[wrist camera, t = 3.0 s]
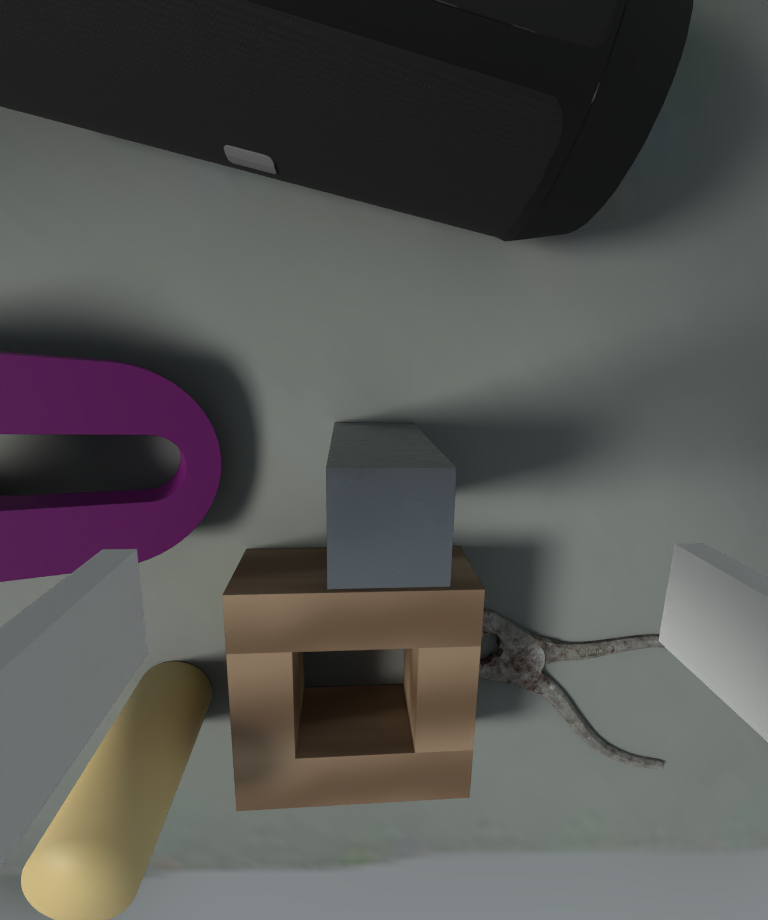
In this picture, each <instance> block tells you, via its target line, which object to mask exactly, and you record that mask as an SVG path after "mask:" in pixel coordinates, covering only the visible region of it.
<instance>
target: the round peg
mask: <svg viewBox="0 0 768 920" xmlns="http://www.w3.org/2000/svg"><path fill="white" fill-rule="evenodd" d="M211 699H212V687H211V684H210V681H209V679H208V678H207V676H206V675H205V674H204V673H203V672H202V671H201V670H199V669H198V668H196V667H195V666H193V665H190V664H188V663H184V662H177V661H171V662H165V663H161V664H158V665H156V666H154V667H152V668H151V669H149V670H148V671H147V672H146V673H145V674H144V676H143V677H142V679H141V680H140V682H139V683H138V685H137V687H136V688H135V690H134V691H133V693H132V695H131V696H130V698H129V699H128V701H127V703H126V704H125V706H124V707H123V709H122V711H121V712H120V714H119V715H118V717H117V719H116V720H115V722H114V723H113V725H112V727H111V728H110V730H109V731H108V733H107V735H106V736H105V738H104V739H103V741H102V743H101V744H100V746H99V748H98V749H97V751H96V752H95V754H94V756H93V757H92V759H91V760H90V762H89V764H88V765H87V767H86V768H85V770H84V772H83V773H82V775H81V776H80V778H79V780H78V781H77V783H76V784H75V786H74V788H73V789H72V791H71V792H70V794H69V796H68V797H67V799H66V800H65V802H64V804H63V805H62V807H61V808H60V810H59V812H58V813H57V815H56V816H55V818H54V820H53V821H52V823H51V824H50V826H49V828H48V829H47V831H46V832H45V834H44V836H43V837H42V839H41V840H40V842H39V844H38V845H37V847H36V848H35V850H34V852H33V853H32V855H31V856H30V858H29V860H28V861H27V863H26V864H25V866H24V869H23V871H22V875H21V885H22V889H23V893H24V895H25V897H26V899H27V900H28V901H29V903H30V904H31V905H32V906H33V907H34V908H35V909H36V910H38V911H39V912H41V913H42V914H44V915H46V916H48V917H50V918H52V919H54V920H108V919H111V918H113V917H115V916H117V915H118V914H120V913H121V912H123V911H124V910H125V909H126V908H127V907H128V906H129V905H130V904H131V903H132V901H133V900H134V898H135V896H136V894H137V892H138V889H139V886H140V884H141V881H142V879H143V876H144V873H145V871H146V868H147V866H148V863H149V860H150V858H151V855H152V853H153V850H154V847H155V845H156V842H157V840H158V837H159V835H160V832H161V829H162V827H163V824H164V822H165V819H166V816H167V814H168V811H169V809H170V806H171V803H172V801H173V798H174V796H175V793H176V791H177V788H178V785H179V783H180V780H181V778H182V775H183V772H184V770H185V767H186V765H187V762H188V759H189V757H190V754H191V752H192V749H193V746H194V744H195V741H196V739H197V736H198V734H199V731H200V728H201V726H202V723H203V721H204V718H205V715H206V713H207V710H208V708H209V705H210V702H211Z"/></svg>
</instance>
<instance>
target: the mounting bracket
mask: <svg viewBox="0 0 768 920" xmlns="http://www.w3.org/2000/svg"><path fill="white" fill-rule="evenodd" d="M0 434H85V435H156V436H161V437H164V438H166V439H168V440H170V441H172V442H173V443H174V444H176V445H177V446H178V447H179V450H180V455H181V461H180V466H179V468H178V471H177V472H176V474H175V475H174V476H173V478H172V479H171V480H169V481H168V482H167V483H165V484H163V485H161V486H159V487H156V488H152V489H142V490H121V491H100V492H80V493H59V494H38V495H18V496H5V495H0V582H3V581H12V580H20V579H28V578H36V577H44V576H52V575H61V574H69V573H72V572H74V571H75V570H76V569H78V568H79V567H80V566H82V565H83V564H84V563H85V562H87V561H88V560H89V559H91V558H92V557H93V556H95V555H96V554H97V553H98V552H100V551H101V550H102V549H137V556H138V563H139V562H142V561H145V560H148V559H150V558H153V557H155V556H157V555H159V554H161V553H163V552H165V551H167V550H168V549H170V548H172V547H173V546H175V545H176V544H178V543H179V542H180V541H182V540H183V539H184V538H185V537H186V536H188V535H189V534H190V533H191V532H192V531H193V530H194V529H195V528H196V527H197V525H198V524H199V523H200V522H201V521H202V519H203V518H204V516H205V515H206V513H207V512H208V510H209V508H210V507H211V505H212V503H213V501H214V498H215V495H216V493H217V490H218V486H219V482H220V475H221V453H220V448H219V443H218V440H217V437H216V434H215V431H214V429H213V427H212V425H211V422H210V421H209V419H208V418H207V416H206V414H205V413H204V412H203V410H202V409H201V408H200V406H199V405H198V404H197V403H196V402H195V401H194V400H193V399H192V398H191V397H190V396H189V395H188V394H187V393H186V392H184V391H183V390H182V389H181V388H180V387H178V386H177V385H176V384H174V383H173V382H171V381H170V380H168V379H167V378H165V377H164V376H162V375H160V374H158V373H156V372H154V371H152V370H149V369H147V368H145V367H142V366H139V365H135V364H132V363H127V362H123V361H117V360H109V359H96V358H83V357H70V356H57V355H44V354H31V353H18V352H5V351H0Z"/></svg>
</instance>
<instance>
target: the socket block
mask: <svg viewBox="0 0 768 920" xmlns="http://www.w3.org/2000/svg"><path fill="white" fill-rule="evenodd" d="M484 597H485V589H484V587H483V585H482V584H481V582H480V580H479V578H478V577H477V575H476V573H475V572H474V570H473V568H472V566H471V565H470V563H469V561H468V560H467V558H466V556H465V554H464V553H463V551H462V549H461V548H460V546H452V561H451V579H450V587H403V588H356V589H327V548H297V549H246V551H245V553H244V554H243V556H242V558H241V560H240V562H239V564H238V566H237V568H236V570H235V572H234V574H233V576H232V578H231V580H230V581H229V583H228V585H227V587H226V589H225V591H224V593H223V595H222V598H223V613H224V628H225V644H226V659H227V674H228V689H229V705H230V720H231V735H232V751H233V766H234V781H235V796H236V811H246V810H263V809H280V808H297V807H315V806H332V805H349V804H366V803H384V802H401V801H418V800H435V799H453V798H470V785H471V772H472V758H473V745H474V731H475V718H476V704H477V691H478V677H479V664H480V650H481V637H482V624H483V610H484ZM378 649H404V679H403V684H392V685H365V686H339V687H312V688H304V653H303V652H315V651H346V650H378Z"/></svg>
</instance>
